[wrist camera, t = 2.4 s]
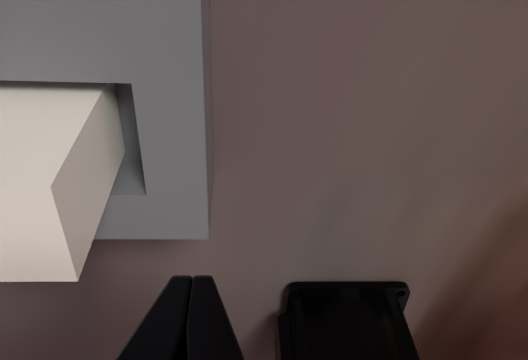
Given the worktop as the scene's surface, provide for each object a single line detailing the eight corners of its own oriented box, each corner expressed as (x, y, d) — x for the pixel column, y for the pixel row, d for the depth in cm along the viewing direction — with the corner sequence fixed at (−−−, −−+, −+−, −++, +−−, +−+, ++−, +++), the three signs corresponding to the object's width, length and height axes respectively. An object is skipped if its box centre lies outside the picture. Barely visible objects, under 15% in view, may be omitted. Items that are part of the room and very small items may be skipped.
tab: (112, 71, 14) (50, 186, 10) (125, 151, 16) (77, 281, 11) (-19, 68, 14) (-149, 184, 9) (9, 149, 16) (-89, 282, 11)
